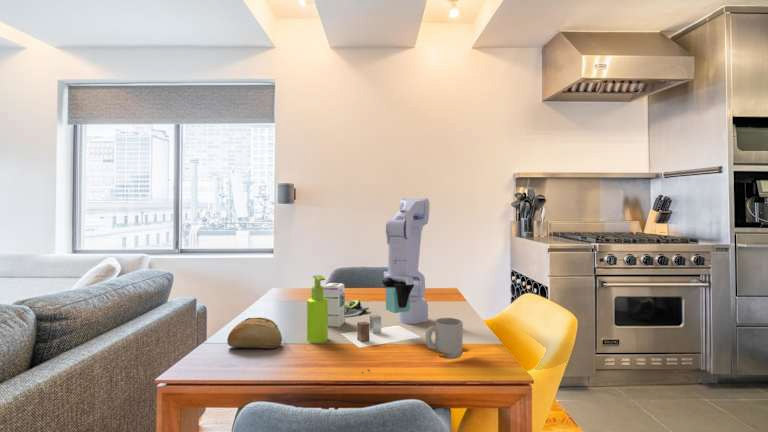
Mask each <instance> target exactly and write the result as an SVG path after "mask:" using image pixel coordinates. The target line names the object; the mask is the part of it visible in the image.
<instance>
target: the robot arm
mask: <svg viewBox="0 0 768 432" xmlns="http://www.w3.org/2000/svg"><path fill="white" fill-rule="evenodd" d="M429 218H430V200H429V199H428V198H401V200H400V201H399V210H398V211H397V213H396V214H395V215H394V217H393V219H389V220H388V221H387V222H386V225H385V235H386V243H387V245H388V253H387V254H388V260H387V261H388V262H387V263H388V266H387V268H388V269H387V271H383V278H384V280H382V284H383V286H384V288H385V289H386V287H395V288H396V291H397V296H398V305H399V308H404V307H406V305H407V301H408V298H409V295H410V311H407V312H399V313H398V322H399V323H401V324H405V325H415V324H420V323H425V322H426V323H427V322H428V321H429V306H428V305H429V304H428V301H427V300H426V298H424V297H425V294H426V278H425V275H424V274H423V273H421V271H420V270H419V264H420V263H419V262H420V251H421V241H422V232H423V229H424V228H423V227H424V226H425V225H427V224H428V223H429Z"/></svg>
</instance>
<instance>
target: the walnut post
mask: <svg viewBox="0 0 768 432" xmlns="http://www.w3.org/2000/svg"><path fill="white" fill-rule="evenodd" d="M369 329H370V322H367V321H359V322H357V330H356V331H357V340H358V341H360V342H367V341H369Z"/></svg>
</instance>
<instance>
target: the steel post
mask: <svg viewBox="0 0 768 432" xmlns="http://www.w3.org/2000/svg"><path fill="white" fill-rule="evenodd" d="M381 328H382V316H381V315H379V314H373V315H372V314H370V315H369V329H370V332H371V333H372V334H377V333H381Z"/></svg>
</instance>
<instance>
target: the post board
mask: <svg viewBox="0 0 768 432" xmlns="http://www.w3.org/2000/svg"><path fill="white" fill-rule="evenodd" d="M340 335H341V336H343V338H345V339H346V340H348V341H349V342H351V343H352V344H353V345H355V346H357V348H359V349H360V348H366V347H372V346H373V347H374V346H378V345H385V344H390V343H397V342H404V341H409V340H414V339H415V340H417V339H422V337H421V336H420V335H418V334H417V333H414V332H412V331H410V330H409V329H406V328H405V327H403V326H400V325H392V326H390V325H389V326H386V327H381V333H377V334H372V333H371V332H370V328H369V341H367V342H360V341H358V340H357V330H356V331H349V332H343V333H340Z"/></svg>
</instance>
